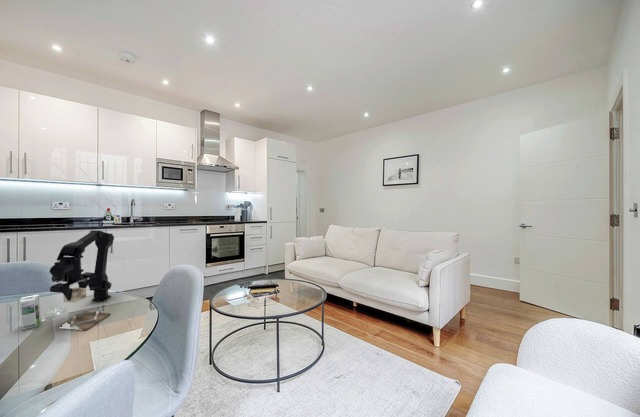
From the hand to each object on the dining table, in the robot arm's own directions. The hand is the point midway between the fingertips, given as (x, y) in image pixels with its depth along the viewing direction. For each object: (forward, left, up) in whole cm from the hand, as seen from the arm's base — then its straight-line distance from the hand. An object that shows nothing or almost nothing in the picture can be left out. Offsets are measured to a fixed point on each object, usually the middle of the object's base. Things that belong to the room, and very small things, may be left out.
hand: (75, 297), depth 133 cm
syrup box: (+9, -14, -12) cm, 20 cm away
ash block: (0, 0, -1) cm, 1 cm away
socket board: (+3, +7, -11) cm, 14 cm away
